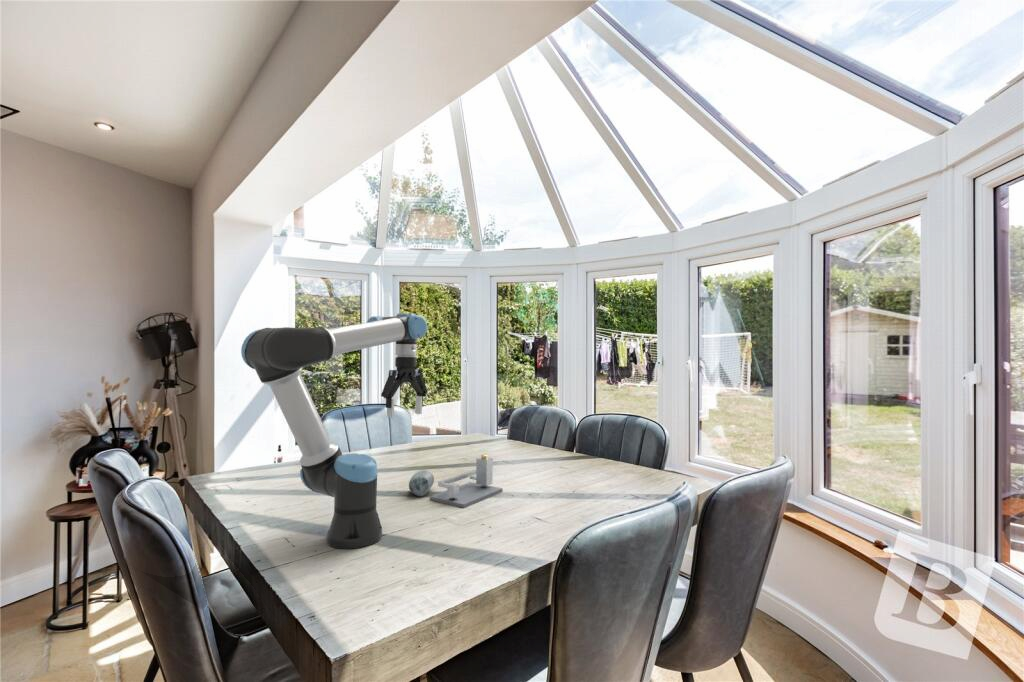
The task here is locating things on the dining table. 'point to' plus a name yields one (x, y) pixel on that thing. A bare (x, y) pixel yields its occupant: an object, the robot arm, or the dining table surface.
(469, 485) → the flange plate
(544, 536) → the dining table surface
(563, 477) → the dining table surface
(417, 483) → the grey rounded oval lump
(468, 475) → the dividers frame
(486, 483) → the post
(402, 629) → the dining table surface
